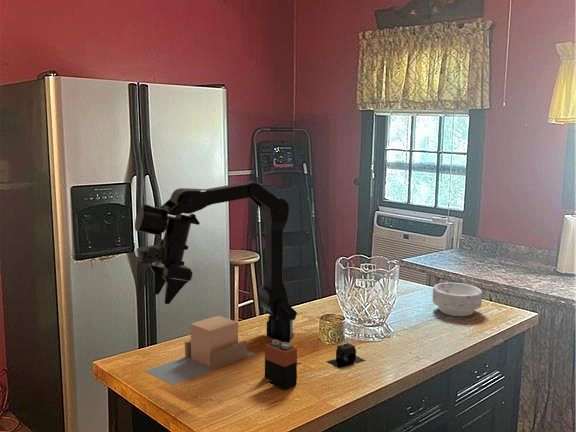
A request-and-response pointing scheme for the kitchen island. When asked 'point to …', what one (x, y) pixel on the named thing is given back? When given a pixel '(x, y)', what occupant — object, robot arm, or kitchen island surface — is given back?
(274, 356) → the battery
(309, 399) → the kitchen island surface
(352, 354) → the black rectangular piece
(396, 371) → the kitchen island surface
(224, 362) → the chute
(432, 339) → the kitchen island surface
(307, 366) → the kitchen island surface
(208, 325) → the block
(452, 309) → the white marble bowl
